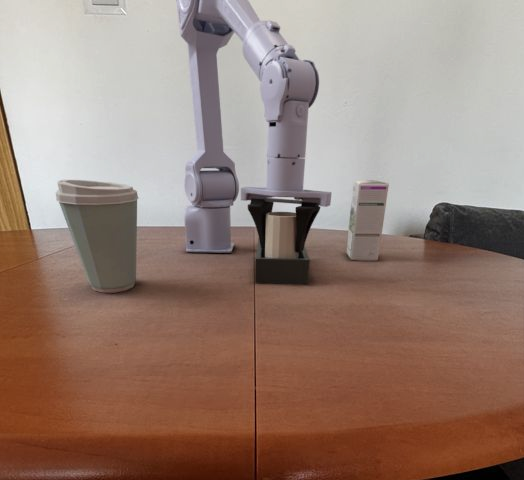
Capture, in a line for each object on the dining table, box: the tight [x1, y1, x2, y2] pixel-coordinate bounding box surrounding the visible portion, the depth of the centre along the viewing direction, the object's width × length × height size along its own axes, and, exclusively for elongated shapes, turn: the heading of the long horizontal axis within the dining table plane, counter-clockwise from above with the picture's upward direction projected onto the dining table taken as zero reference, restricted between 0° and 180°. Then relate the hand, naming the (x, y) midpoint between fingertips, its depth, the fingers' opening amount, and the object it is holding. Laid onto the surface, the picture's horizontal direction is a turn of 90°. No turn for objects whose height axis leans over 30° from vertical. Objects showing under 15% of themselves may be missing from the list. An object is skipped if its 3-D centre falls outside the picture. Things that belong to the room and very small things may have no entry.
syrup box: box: [345, 179, 390, 262], centre depth 75 cm, size 6×6×14 cm
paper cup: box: [265, 211, 299, 258], centre depth 62 cm, size 6×6×8 cm
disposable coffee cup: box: [55, 179, 139, 294], centre depth 55 cm, size 11×11×15 cm
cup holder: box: [254, 237, 311, 285], centre depth 68 cm, size 9×16×4 cm, turn 179°
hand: (282, 249), depth 63 cm, fingers closed on paper cup, 6 cm apart
